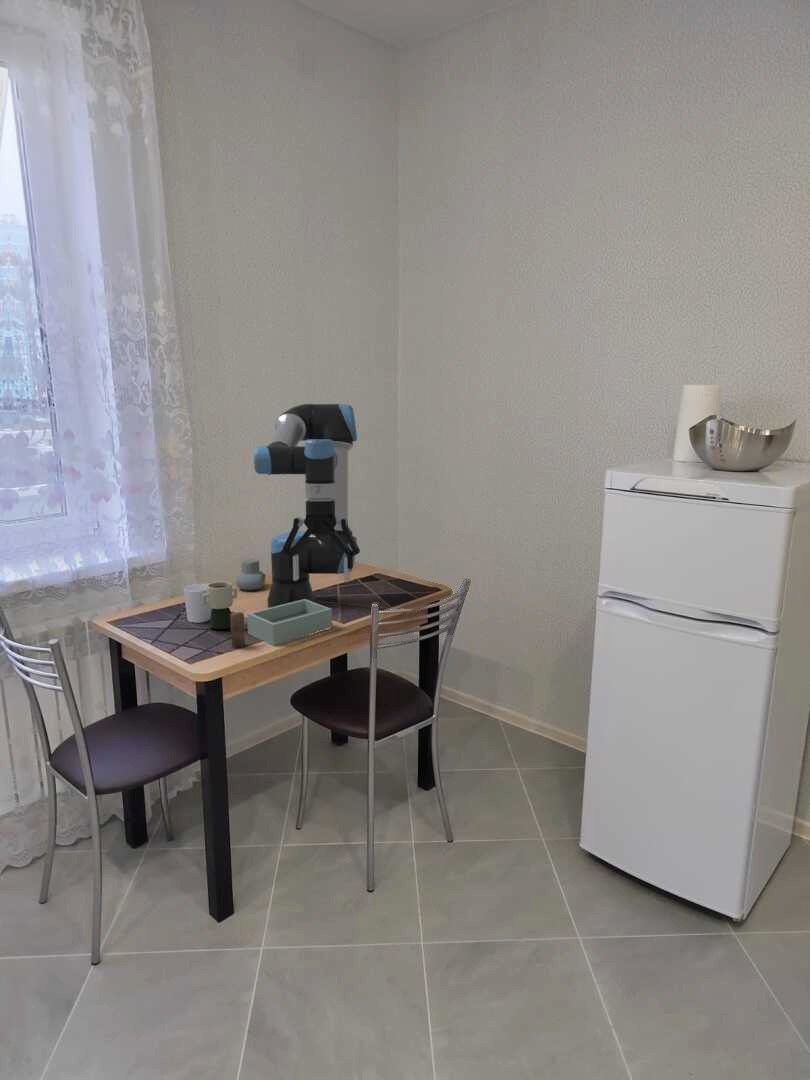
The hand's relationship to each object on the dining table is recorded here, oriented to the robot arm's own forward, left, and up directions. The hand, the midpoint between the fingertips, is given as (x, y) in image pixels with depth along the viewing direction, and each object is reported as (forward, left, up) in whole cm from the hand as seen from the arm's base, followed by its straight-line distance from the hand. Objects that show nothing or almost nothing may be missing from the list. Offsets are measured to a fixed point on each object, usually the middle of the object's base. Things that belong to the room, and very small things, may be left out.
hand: (321, 580), depth 186 cm
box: (-16, +6, -19) cm, 26 cm away
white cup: (-46, 0, -19) cm, 50 cm away
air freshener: (-55, +33, -19) cm, 67 cm away
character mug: (-35, -2, -19) cm, 40 cm away
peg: (-21, -10, -19) cm, 30 cm away
